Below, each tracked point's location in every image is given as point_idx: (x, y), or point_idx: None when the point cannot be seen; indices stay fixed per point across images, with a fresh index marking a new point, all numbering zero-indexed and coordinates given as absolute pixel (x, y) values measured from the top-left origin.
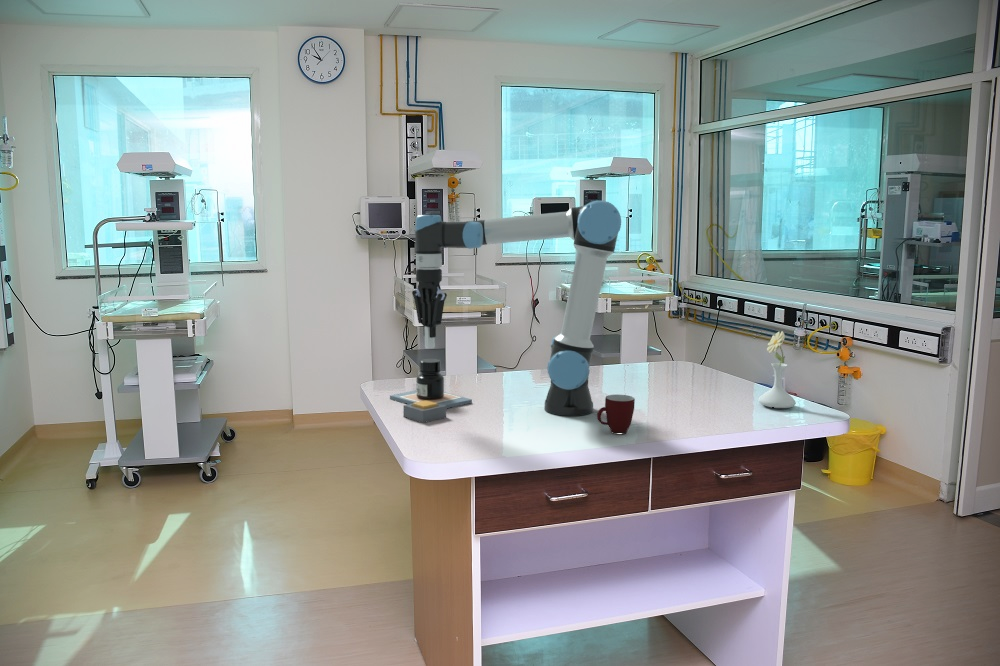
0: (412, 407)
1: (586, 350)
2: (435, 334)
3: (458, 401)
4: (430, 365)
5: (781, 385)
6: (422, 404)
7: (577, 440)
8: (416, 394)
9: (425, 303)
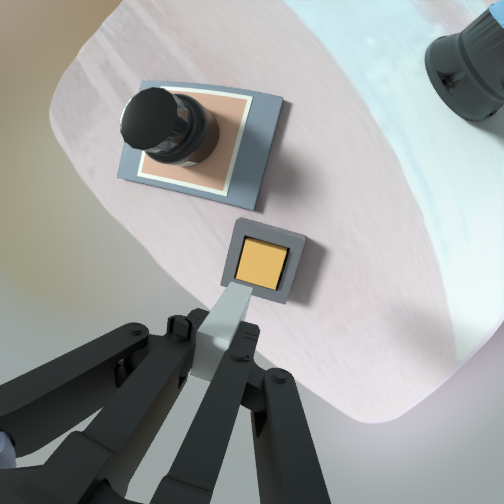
0: None
1: None
2: (258, 336)
3: (267, 129)
4: (168, 142)
5: None
6: (262, 276)
7: None
8: None
9: (128, 480)
